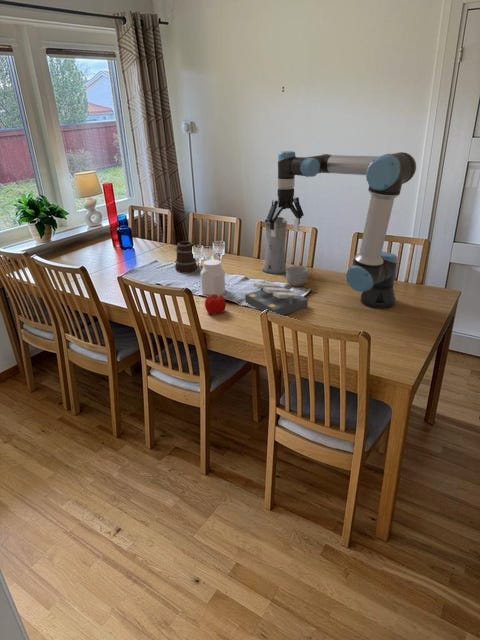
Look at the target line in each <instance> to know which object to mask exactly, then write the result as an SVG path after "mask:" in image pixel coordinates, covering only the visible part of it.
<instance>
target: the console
mask: <svg viewBox="0 0 480 640" xmlns="http://www.w3.org/2000/svg"><path fill="white" fill-rule="evenodd" d="M262 283H266V282H265V281H264V282H262ZM271 287H273V286H271ZM273 288H274V287H273ZM279 288H284V287H283V286H281V285H279ZM288 290H289V292H290V293H295V292H294V291H292V290H290V289H288ZM280 292H284V291H280ZM244 298H245V303H246V304H247V303H248V304H247V305H249V304H250V306H251V307H254V309H257V310H259V311H260V312H262V311H264V310H266V309H268V310H270V311H272V312H276V313H278V314H282V315H283V316H284V315H285V316H286V315H288V314H291V313H295V312H297V311H300V310H304V309H306V308H308V306H309V305H308V304H309V298H308V297H304V296H302V295H300V297H299V298H293V296H289V298H277V297H275V296H273V293H267V292H265V291H263V288H260V289H259V290H255V291H253V292H252V291H251V292H250V293H249V292H248V293H246V294H244Z"/></svg>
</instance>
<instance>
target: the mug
mask: <svg viewBox="0 0 480 640" xmlns="http://www.w3.org/2000/svg"><path fill="white" fill-rule="evenodd" d="M194 245H195V244H194V243H193V242H192V241H188V240H184V241H183V240H182V241H179V242H178V243H177V244H176V248H175V249H174V250H175V252H176V259H175V261H174V262H175V266H174V268H175V269H176V270H177V271H176V272H178V271H180V272H179V273H182V272H188V273H193V272H197V270H198V264H197V259H196V258H195V259H196V260H195V259H194V258H193V254H192V246H194ZM192 271H193V272H192Z"/></svg>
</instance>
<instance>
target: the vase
mask: <svg viewBox="0 0 480 640" xmlns="http://www.w3.org/2000/svg"><path fill="white" fill-rule="evenodd" d="M275 223H276V237H273V236H271V229H270V222H268V221H266V219H264V226H265V234H266V235H265V238H266V239H265V240H266V243H265V244H266V250H265V259H264V264H263V267H262V271H263V273H267V274H272V275H282V274H284V273H285V274H286V269H287V266H286V264H287V263H286V235H287V229H288V227H287V224H288V221H287V219H285V218H284V217H282V216H281V217H280V216H278V217H277V219H276V221H275Z"/></svg>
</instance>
